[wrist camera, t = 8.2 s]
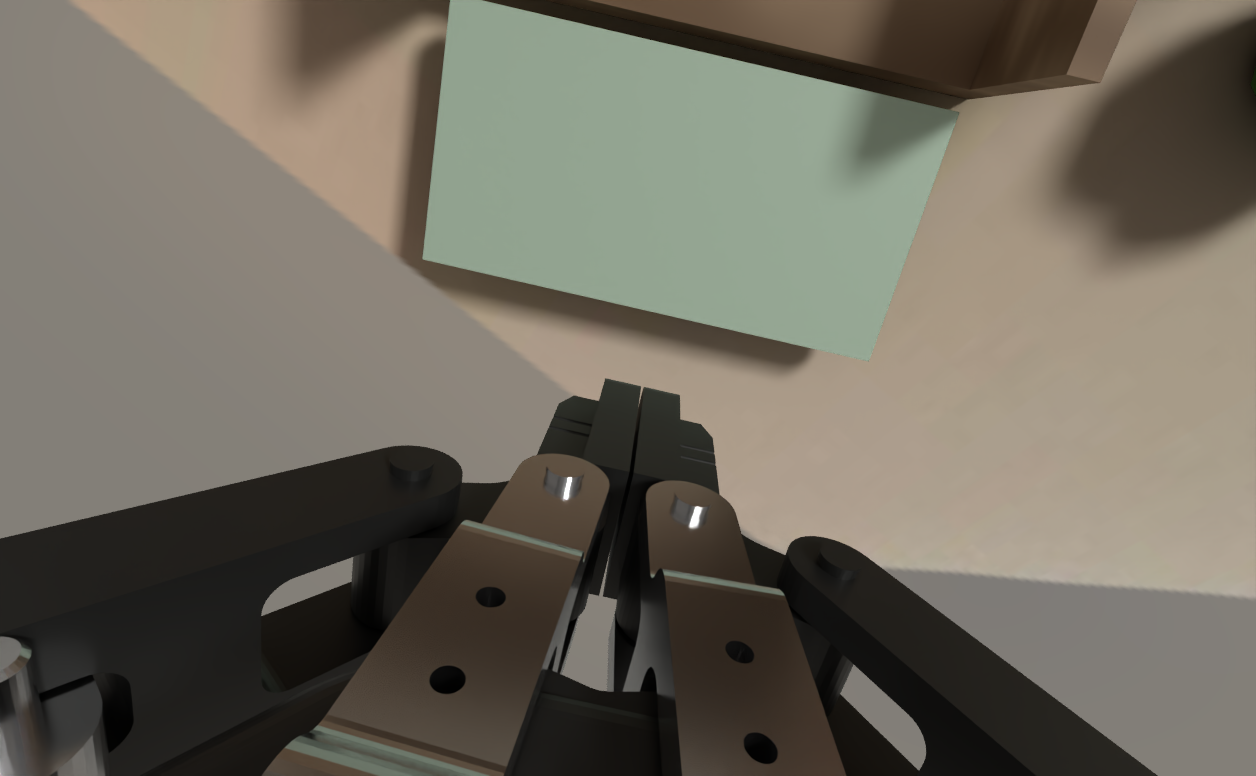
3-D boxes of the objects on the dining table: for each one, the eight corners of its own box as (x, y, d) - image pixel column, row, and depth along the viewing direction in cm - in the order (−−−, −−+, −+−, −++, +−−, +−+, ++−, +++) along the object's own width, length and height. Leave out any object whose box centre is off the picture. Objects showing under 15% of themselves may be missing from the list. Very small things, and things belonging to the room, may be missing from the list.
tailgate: (450, -7, 24) (422, 259, 27) (959, 112, 24) (868, 361, 28) (466, 4, 26) (438, 252, 29) (938, 115, 26) (856, 348, 30)
